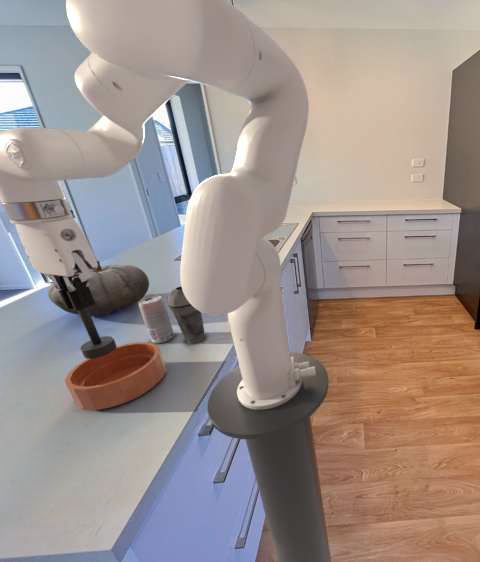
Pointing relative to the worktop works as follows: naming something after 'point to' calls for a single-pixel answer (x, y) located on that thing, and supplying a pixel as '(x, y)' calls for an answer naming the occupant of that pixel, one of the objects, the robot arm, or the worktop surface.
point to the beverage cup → (186, 316)
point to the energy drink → (156, 319)
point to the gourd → (110, 289)
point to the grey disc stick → (95, 339)
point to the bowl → (116, 376)
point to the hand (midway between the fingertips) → (81, 306)
